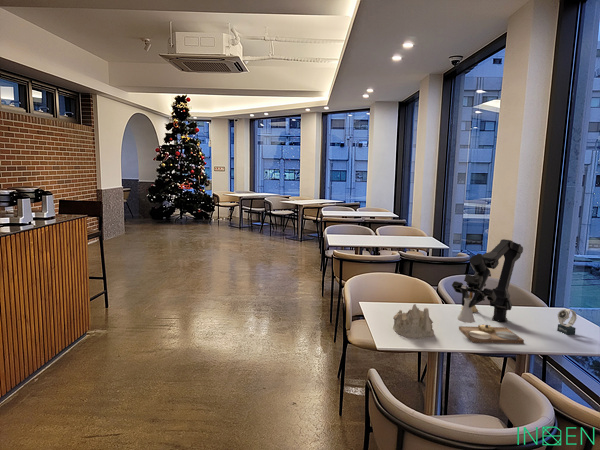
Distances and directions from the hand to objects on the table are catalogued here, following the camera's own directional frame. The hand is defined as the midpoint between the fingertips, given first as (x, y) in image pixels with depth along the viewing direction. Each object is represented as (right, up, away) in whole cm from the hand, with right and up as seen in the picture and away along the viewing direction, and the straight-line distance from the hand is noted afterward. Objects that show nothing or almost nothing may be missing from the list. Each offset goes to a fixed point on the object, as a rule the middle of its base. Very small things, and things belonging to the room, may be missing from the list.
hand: (465, 306), depth 185 cm
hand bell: (+17, -9, +38) cm, 43 cm away
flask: (+1, -7, +2) cm, 7 cm away
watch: (+50, -14, +9) cm, 52 cm away
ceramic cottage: (-22, -13, +4) cm, 26 cm away
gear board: (+11, -14, +1) cm, 18 cm away
